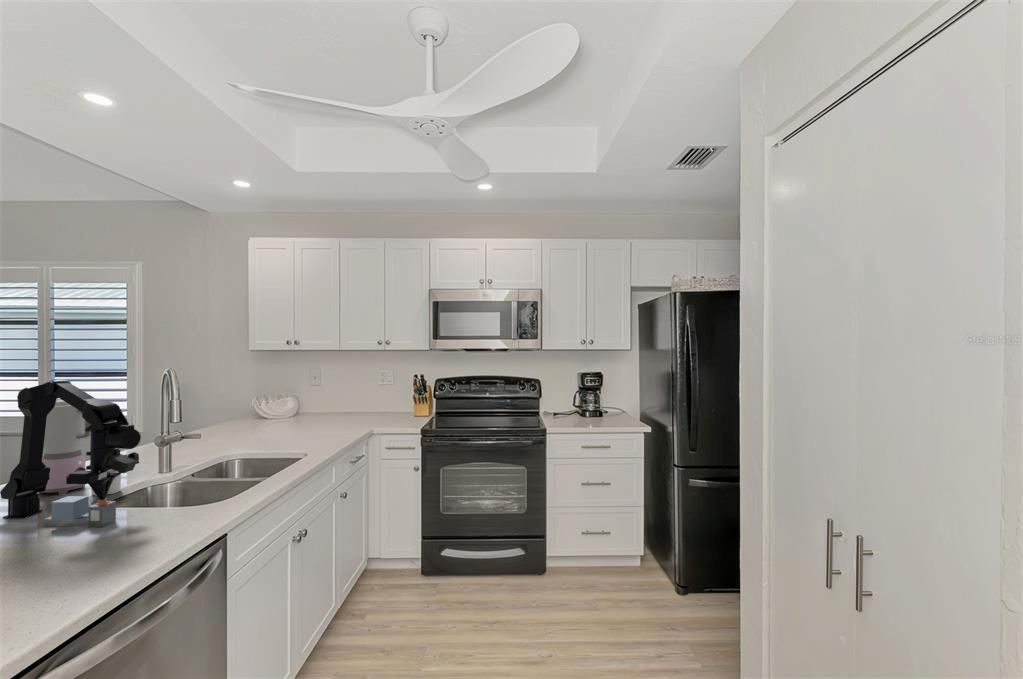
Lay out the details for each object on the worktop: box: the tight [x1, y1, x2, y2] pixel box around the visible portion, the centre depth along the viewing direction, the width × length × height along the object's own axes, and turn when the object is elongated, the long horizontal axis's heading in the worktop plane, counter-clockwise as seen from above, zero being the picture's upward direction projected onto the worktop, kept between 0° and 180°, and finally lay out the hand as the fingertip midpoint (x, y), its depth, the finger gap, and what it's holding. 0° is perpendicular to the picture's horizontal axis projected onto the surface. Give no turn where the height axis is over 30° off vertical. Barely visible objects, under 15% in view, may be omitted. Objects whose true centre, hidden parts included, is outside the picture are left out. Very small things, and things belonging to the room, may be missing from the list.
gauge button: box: [97, 497, 108, 505], centre depth 144 cm, size 2×2×5 cm
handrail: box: [43, 515, 88, 527], centre depth 144 cm, size 13×2×2 cm, turn 93°
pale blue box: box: [50, 495, 90, 520], centre depth 144 cm, size 6×5×5 cm
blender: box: [39, 399, 91, 496], centre depth 174 cm, size 16×12×32 cm
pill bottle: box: [90, 471, 122, 496], centre depth 173 cm, size 8×8×15 cm
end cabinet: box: [87, 500, 117, 529], centre depth 144 cm, size 4×5×6 cm
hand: (102, 499), depth 144 cm, fingers closed, pressing on gauge button
